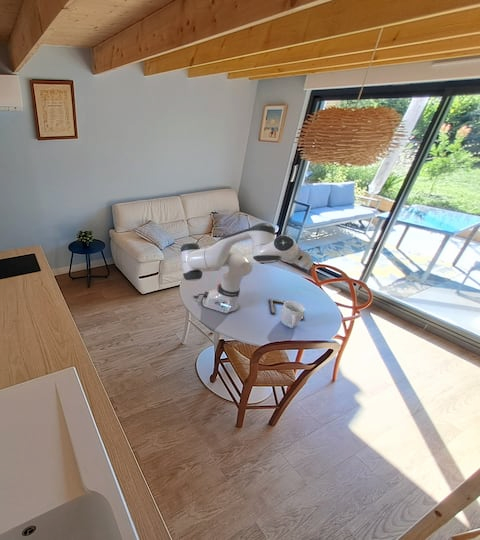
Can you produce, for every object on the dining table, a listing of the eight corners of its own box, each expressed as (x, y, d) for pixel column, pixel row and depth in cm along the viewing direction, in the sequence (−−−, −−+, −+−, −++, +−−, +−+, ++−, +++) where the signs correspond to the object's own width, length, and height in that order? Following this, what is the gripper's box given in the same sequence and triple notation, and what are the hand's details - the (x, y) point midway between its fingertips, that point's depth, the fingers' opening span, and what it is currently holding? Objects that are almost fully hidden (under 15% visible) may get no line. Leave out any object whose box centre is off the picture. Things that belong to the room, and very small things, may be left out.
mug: (300, 336, 163) (307, 318, 156) (279, 331, 166) (285, 313, 160) (297, 320, 175) (303, 303, 168) (277, 316, 178) (282, 299, 172)
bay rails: (271, 313, 180) (271, 312, 180) (269, 300, 193) (270, 298, 192) (302, 319, 175) (303, 318, 174) (298, 305, 187) (299, 304, 187)
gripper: (263, 247, 139) (268, 254, 150) (305, 269, 127) (307, 275, 137) (271, 236, 138) (276, 244, 148) (314, 257, 125) (316, 264, 136)
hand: (291, 259), depth 143 cm, fingers open, 8 cm apart
